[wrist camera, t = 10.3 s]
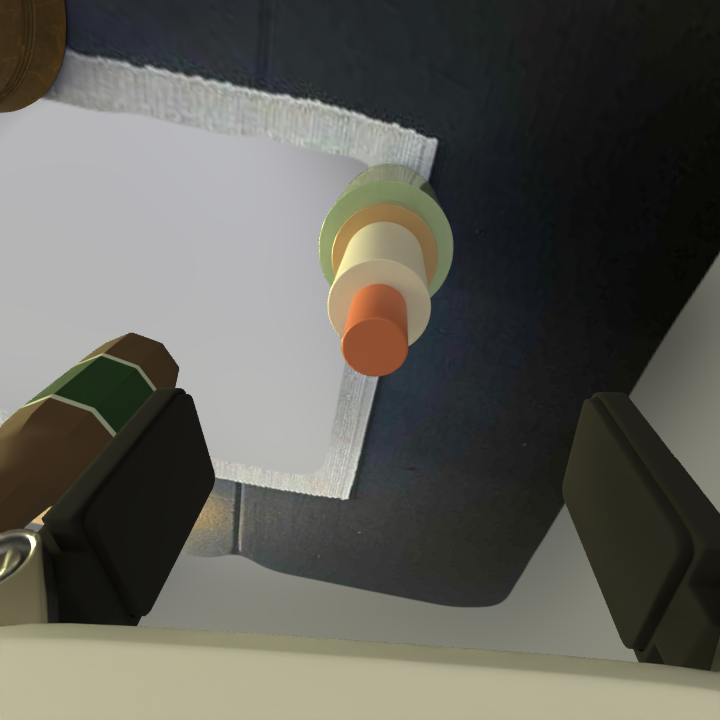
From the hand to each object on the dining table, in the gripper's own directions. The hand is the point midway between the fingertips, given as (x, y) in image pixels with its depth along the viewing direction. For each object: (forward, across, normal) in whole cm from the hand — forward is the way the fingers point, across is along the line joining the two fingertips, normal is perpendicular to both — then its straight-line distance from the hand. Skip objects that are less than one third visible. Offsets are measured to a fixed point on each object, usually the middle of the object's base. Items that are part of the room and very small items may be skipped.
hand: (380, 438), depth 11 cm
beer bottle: (+26, +25, +14) cm, 38 cm away
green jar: (+26, +1, 0) cm, 26 cm away
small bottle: (+16, +1, 0) cm, 16 cm away
